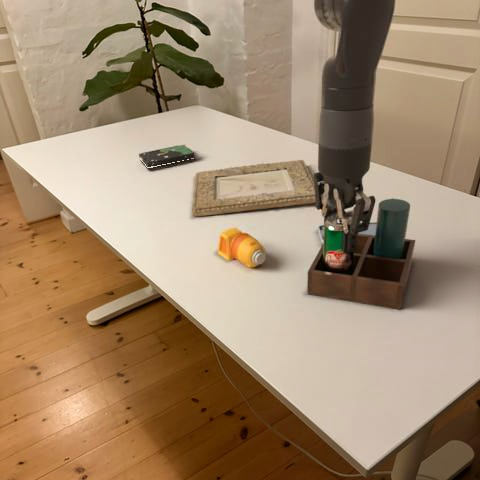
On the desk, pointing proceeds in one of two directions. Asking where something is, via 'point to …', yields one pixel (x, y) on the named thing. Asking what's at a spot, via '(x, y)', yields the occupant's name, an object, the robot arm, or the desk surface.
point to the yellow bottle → (241, 247)
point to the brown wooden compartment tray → (364, 276)
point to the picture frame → (252, 188)
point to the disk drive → (167, 157)
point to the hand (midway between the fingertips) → (339, 243)
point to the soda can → (336, 247)
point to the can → (391, 228)
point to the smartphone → (370, 231)
